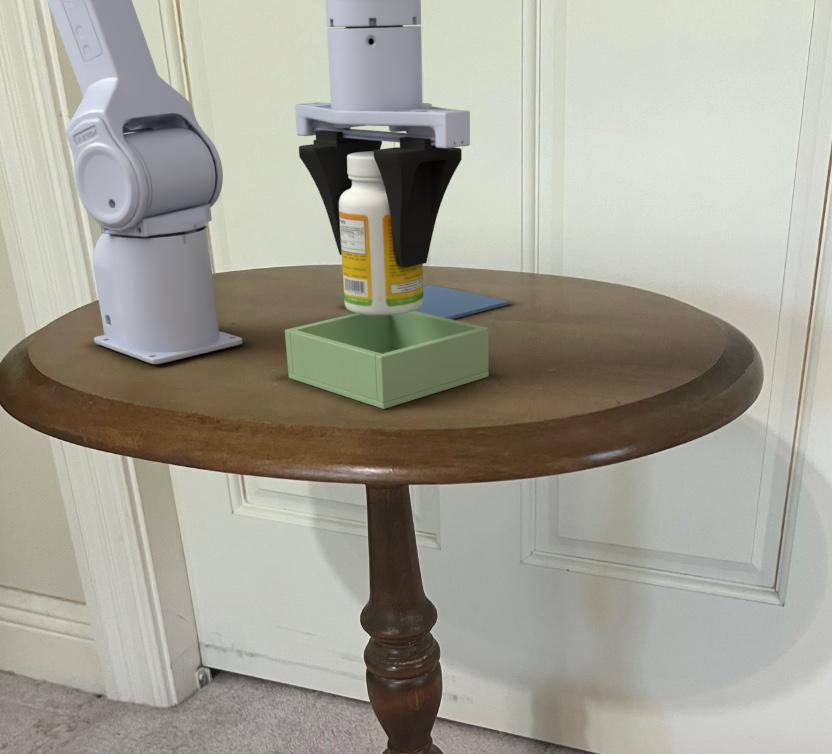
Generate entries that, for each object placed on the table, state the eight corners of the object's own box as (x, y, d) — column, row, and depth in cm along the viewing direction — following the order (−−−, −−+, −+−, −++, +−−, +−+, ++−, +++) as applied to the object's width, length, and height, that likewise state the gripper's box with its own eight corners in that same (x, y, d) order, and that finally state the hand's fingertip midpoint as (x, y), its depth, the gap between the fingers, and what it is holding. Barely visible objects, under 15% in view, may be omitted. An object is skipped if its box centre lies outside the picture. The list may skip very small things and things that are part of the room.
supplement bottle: (427, 298, 76) (424, 148, 71) (419, 317, 71) (416, 157, 66) (350, 298, 76) (343, 149, 72) (338, 317, 71) (329, 159, 67)
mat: (347, 307, 95) (347, 303, 94) (430, 288, 100) (430, 284, 100) (425, 326, 88) (425, 322, 88) (509, 304, 94) (509, 300, 94)
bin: (288, 378, 76) (284, 329, 75) (391, 350, 82) (390, 304, 80) (383, 409, 69) (381, 357, 68) (488, 376, 75) (489, 327, 74)
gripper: (507, 24, 63) (503, 263, 70) (349, 27, 73) (358, 237, 79) (418, 27, 59) (423, 281, 65) (262, 30, 68) (280, 251, 75)
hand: (382, 258), depth 72 cm, fingers closed on supplement bottle, 5 cm apart
